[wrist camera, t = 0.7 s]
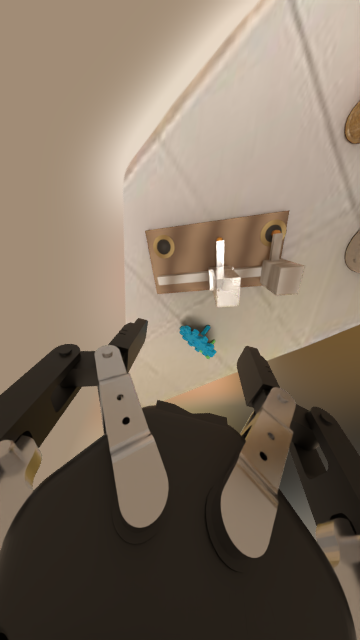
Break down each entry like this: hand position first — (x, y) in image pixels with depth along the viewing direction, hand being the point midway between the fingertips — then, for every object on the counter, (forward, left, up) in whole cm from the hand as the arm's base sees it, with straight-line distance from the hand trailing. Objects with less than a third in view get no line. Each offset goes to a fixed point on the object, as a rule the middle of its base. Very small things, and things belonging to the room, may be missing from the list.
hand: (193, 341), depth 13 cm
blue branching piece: (0, +15, -23) cm, 28 cm away
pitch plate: (-3, -3, -23) cm, 24 cm away
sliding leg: (-4, -2, -21) cm, 21 cm away
